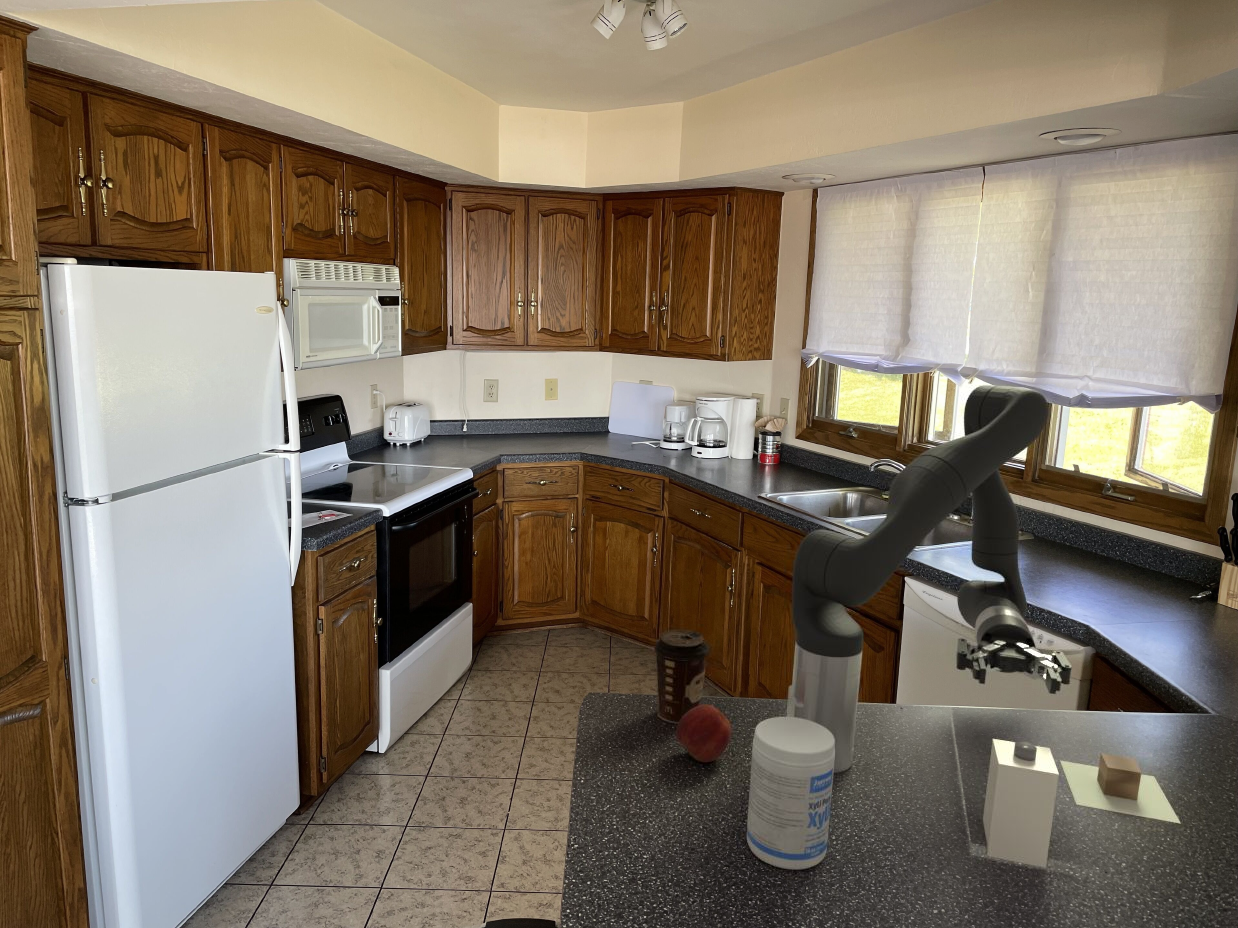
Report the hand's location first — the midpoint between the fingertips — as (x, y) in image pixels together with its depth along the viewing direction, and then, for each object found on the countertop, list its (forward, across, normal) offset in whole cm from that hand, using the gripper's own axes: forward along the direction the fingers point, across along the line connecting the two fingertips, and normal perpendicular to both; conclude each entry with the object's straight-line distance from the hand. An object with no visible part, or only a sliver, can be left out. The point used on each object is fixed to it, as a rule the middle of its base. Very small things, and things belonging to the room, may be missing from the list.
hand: (1017, 681), depth 113 cm
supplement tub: (+22, -27, +16) cm, 38 cm away
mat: (-6, +15, +17) cm, 23 cm away
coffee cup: (-7, -47, +16) cm, 50 cm away
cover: (+12, 0, +16) cm, 20 cm away
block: (-6, +15, +16) cm, 22 cm away
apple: (+5, -40, +16) cm, 44 cm away
